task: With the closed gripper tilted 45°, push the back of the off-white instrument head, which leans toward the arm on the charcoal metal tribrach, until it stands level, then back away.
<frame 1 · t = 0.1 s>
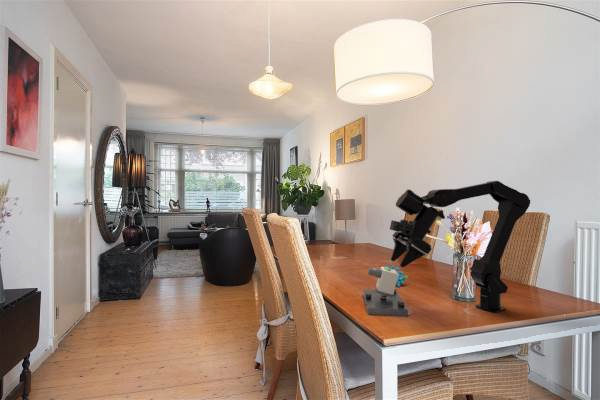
hand: (396, 263, 102), 15 cm above the table, tool tilted 35°, fingers open, 9 cm apart
instrument head: (381, 279, 107), point 8 cm above the table, hinge at -14.0°
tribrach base: (383, 304, 107), on the table
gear: (393, 285, 131), on the table
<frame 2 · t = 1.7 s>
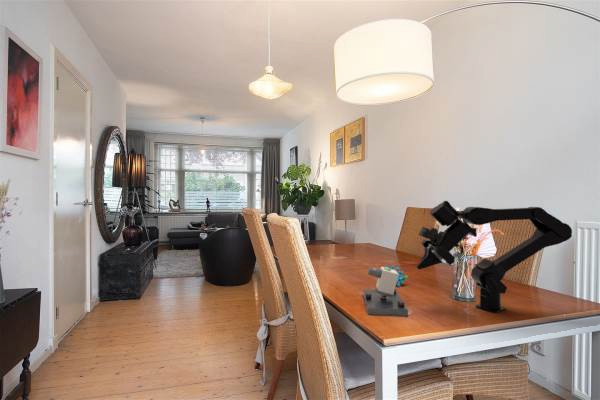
hand: (417, 268, 105), 13 cm above the table, tool tilted 45°, fingers closed
nothing on the table moved.
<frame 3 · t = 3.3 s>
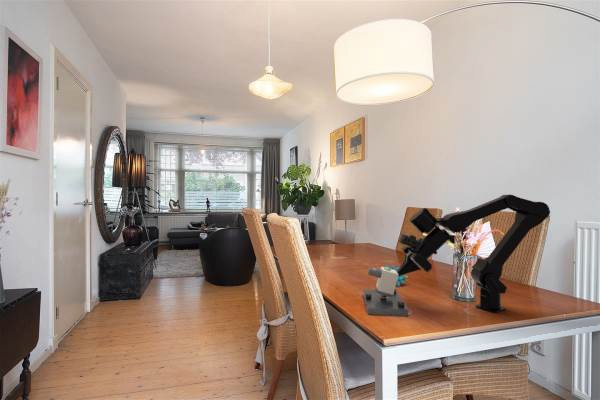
hand: (397, 274, 106), 10 cm above the table, tool tilted 45°, fingers closed, pressing on instrument head
instrument head: (381, 279, 107), point 8 cm above the table, hinge at -13.9°, touching gripper
everything else where it was.
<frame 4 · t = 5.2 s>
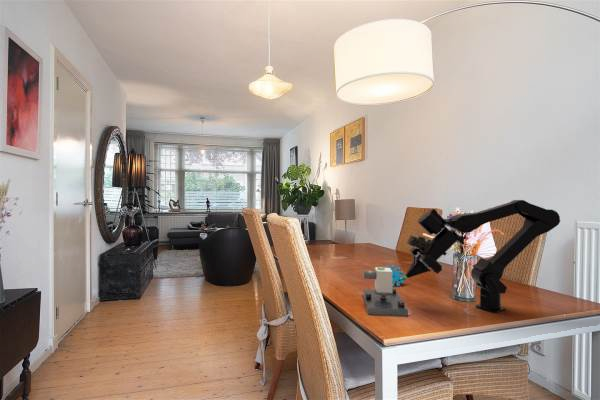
hand: (406, 276, 106), 10 cm above the table, tool tilted 45°, fingers closed
instrument head: (378, 280, 107), point 8 cm above the table, hinge at -0.3°
everything else where it was.
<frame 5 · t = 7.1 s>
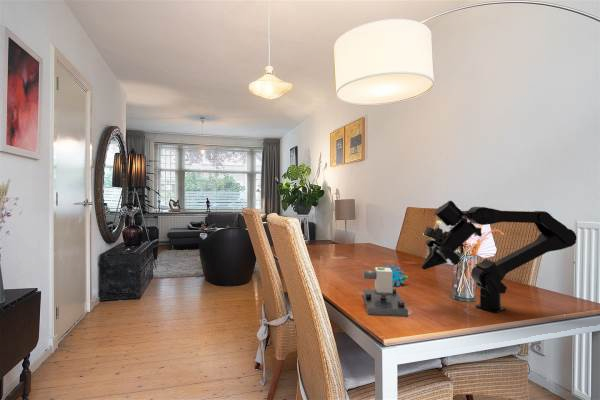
hand: (422, 268, 105), 13 cm above the table, tool tilted 45°, fingers closed
nothing on the table moved.
at the end: instrument head at +0° (first picture: -14°); the gripper is holding nothing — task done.
